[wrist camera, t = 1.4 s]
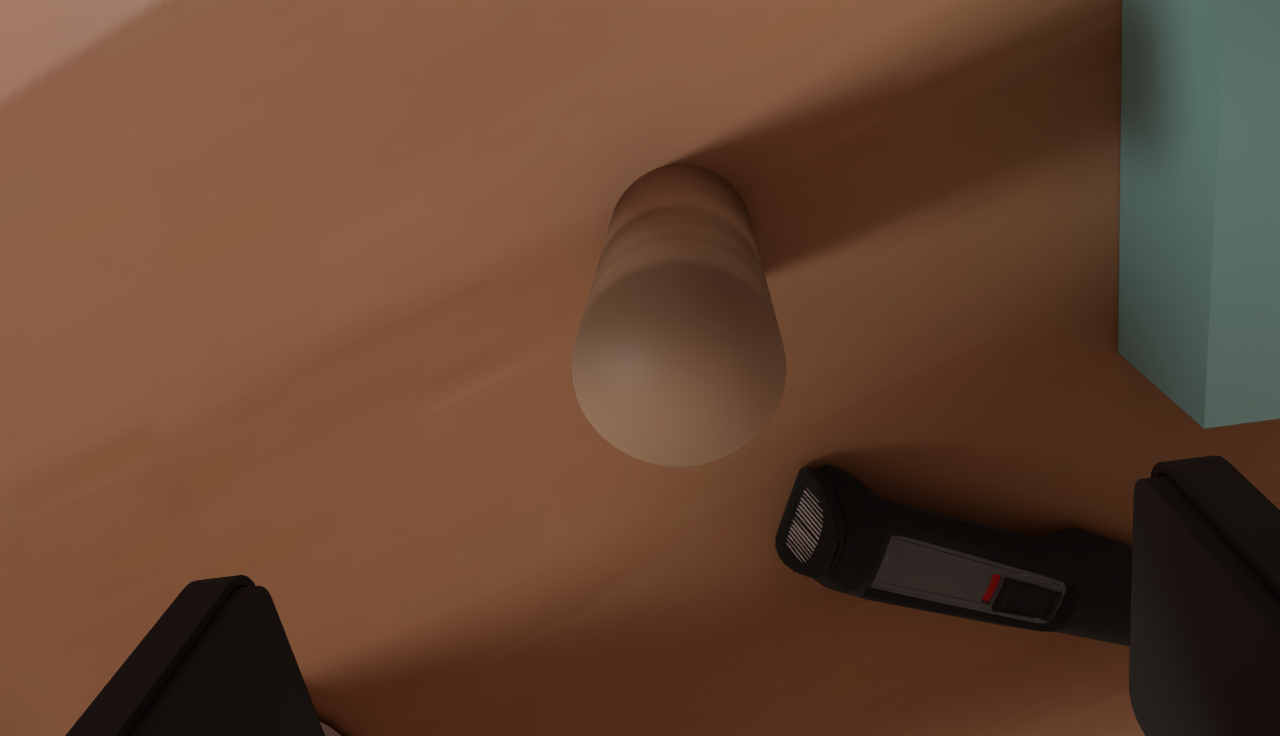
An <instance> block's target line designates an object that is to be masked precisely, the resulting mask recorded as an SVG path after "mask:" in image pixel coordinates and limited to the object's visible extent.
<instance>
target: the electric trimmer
mask: <svg viewBox="0 0 1280 736" xmlns="http://www.w3.org/2000/svg"><path fill="white" fill-rule="evenodd" d="M1132 549H1133V546H1130V545H1127V544H1124V543H1122V542H1119V541H1116V540H1113V539H1110V538H1107V537H1104V536H1101V535H1098V534H1095V533H1092V532H1089V531H1086V530H1083V529H1079V528H1069V529H1066V530H1063V531H1060V532H1056V533H1053V534H1050V535H1046V536H1030V535H1026V534H1022V533H1018V532H1014V531H1010V530H1006V529H1002V528H998V527H994V526H990V525H986V524H982V523H978V522H974V521H970V520H966V519H962V518H958V517H954V516H950V515H945V514H941V513H937V512H933V511H929V510H925V509H921V508H917V507H913V506H909V505H905V504H901V503H897V502H893V501H889V500H885V499H882V498H880V497H878V496H877V495H876V494H875V493H874V492H872V491H871V490H870V489H869V488H868V487H866V486H865V485H864V484H863V483H861V482H860V481H859V480H857V479H856V478H854V477H853V476H851V475H850V474H848V473H847V472H845V471H844V470H841V469H839V468H836V467H834V466H831V465H824V466H822V467H821V468H820V470H819V471H817V470H814V469H809V468H802V469H801V470H800V471H799V474H798V476H797V479H796V481H795V484H794V487H793V490H792V492H791V495H790V498H789V501H788V504H787V506H786V509H785V512H784V515H783V518H782V520H781V523H780V526H779V529H778V532H777V536H776V550H777V553H778V555H779V557H780V558H781V560H782V561H783V563H784V564H785V565H787V566H788V567H789V568H791V569H792V570H793V571H794V572H797V573H799V574H802V575H805V576H808V577H811V578H813V579H814V580H816V581H817V582H819V583H820V584H821V585H823V586H825V587H827V588H830V589H832V590H835V591H838V592H842V593H846V594H850V595H854V596H857V597H861V598H864V599H868V600H872V601H877V602H882V603H888V604H893V605H898V606H904V607H909V608H914V609H919V610H925V611H930V612H935V613H940V614H946V615H951V616H956V617H961V618H967V619H972V620H977V621H983V622H988V623H993V624H998V625H1004V626H1010V627H1016V628H1023V629H1029V630H1036V631H1048V632H1060V633H1065V634H1070V635H1075V636H1080V637H1085V638H1090V639H1095V640H1101V641H1106V642H1111V643H1116V644H1121V645H1126V646H1130V629H1131V589H1132ZM1053 582H1054V583H1053ZM1065 586H1066V587H1065Z"/></svg>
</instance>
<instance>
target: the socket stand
mask: <svg viewBox="0 0 1280 736" xmlns="http://www.w3.org/2000/svg"><path fill="white" fill-rule="evenodd" d="M1118 353H1119V354H1120V355H1121V356H1122V357H1123V358H1124V359H1125V360H1127V361H1128V362H1129V363H1130V364H1131V365H1132V366H1133V367H1135V368H1136V369H1137V370H1138V371H1139V372H1140V373H1141V374H1142V375H1144V376H1145V377H1146V378H1147V379H1148V380H1149V381H1150V382H1152V383H1153V384H1154V385H1155V386H1156V387H1157V388H1158V389H1160V390H1161V391H1162V392H1163V393H1164V394H1165V395H1166V396H1167V397H1169V398H1170V399H1171V400H1172V401H1173V402H1174V403H1175V404H1177V405H1178V406H1179V407H1180V408H1181V409H1182V410H1183V411H1185V412H1186V413H1187V414H1188V415H1189V416H1190V417H1191V418H1192V419H1194V420H1195V421H1196V422H1197V423H1198V424H1199V425H1200V426H1202V427H1203V428H1204V429H1205V428H1213V427H1220V426H1228V425H1235V424H1243V423H1251V422H1258V421H1266V420H1273V419H1280V0H1122V63H1121V148H1120V234H1119V320H1118Z"/></svg>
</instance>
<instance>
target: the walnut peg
mask: <svg viewBox="0 0 1280 736" xmlns="http://www.w3.org/2000/svg"><path fill="white" fill-rule="evenodd" d="M785 376H786V360H785V352H784V347H783V343H782V339H781V335H780V331H779V328H778V324H777V320H776V316H775V312H774V309H773V305H772V301H771V297H770V293H769V290H768V286H767V282H766V278H765V274H764V271H763V267H762V263H761V259H760V255H759V252H758V248H757V244H756V240H755V236H754V233H753V229H752V225H751V221H750V217H749V214H748V211H747V208H746V206H745V204H744V202H743V200H742V198H741V197H740V195H739V194H738V193H737V191H736V190H735V189H734V188H733V187H732V186H731V185H730V184H729V183H728V182H727V181H726V180H724V179H723V178H722V177H720V176H718V175H717V174H715V173H713V172H711V171H709V170H707V169H703V168H700V167H696V166H690V165H672V166H666V167H662V168H658V169H656V170H653V171H651V172H649V173H647V174H645V175H643V176H642V177H640V178H639V179H638V180H636V181H635V182H634V183H633V184H632V185H631V186H630V187H629V188H628V189H627V190H626V191H625V192H624V194H623V195H622V196H621V198H620V200H619V201H618V203H617V205H616V208H615V210H614V213H613V216H612V219H611V223H610V226H609V230H608V233H607V237H606V240H605V243H604V247H603V250H602V254H601V257H600V260H599V264H598V267H597V271H596V274H595V277H594V281H593V284H592V288H591V291H590V294H589V298H588V301H587V305H586V308H585V312H584V315H583V318H582V322H581V325H580V329H579V332H578V335H577V339H576V342H575V346H574V350H573V357H572V378H573V385H574V390H575V393H576V396H577V400H578V402H579V404H580V406H581V409H582V411H583V413H584V414H585V416H586V417H587V419H588V421H589V422H590V424H591V425H592V426H593V427H594V428H595V430H596V431H597V432H598V433H599V434H600V435H601V436H602V437H603V438H604V439H605V440H606V441H608V442H609V443H610V444H612V445H613V446H614V447H616V448H617V449H619V450H620V451H622V452H624V453H626V454H628V455H629V456H632V457H634V458H637V459H639V460H641V461H645V462H649V463H652V464H657V465H663V466H674V467H685V466H696V465H701V464H706V463H710V462H713V461H716V460H719V459H722V458H724V457H726V456H729V455H731V454H733V453H734V452H736V451H738V450H739V449H741V448H743V447H744V446H745V445H747V444H748V443H749V442H750V441H752V440H753V439H754V438H755V437H756V436H757V435H758V434H759V433H760V432H761V431H762V430H763V429H764V427H765V426H766V425H767V423H768V422H769V421H770V419H771V418H772V416H773V414H774V412H775V411H776V409H777V407H778V404H779V402H780V399H781V396H782V393H783V389H784V384H785Z"/></svg>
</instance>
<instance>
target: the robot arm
mask: <svg viewBox="0 0 1280 736" xmlns="http://www.w3.org/2000/svg"><path fill="white" fill-rule="evenodd" d="M1129 692H1130V698H1131V703H1132V707H1133V711H1134V713H1135V716H1136V719H1137V721H1138V723H1139V725H1140V727H1141V729H1142V731H1143V732H1144V734H1145V736H1280V510H1279V509H1278V508H1277V507H1276V506H1274V505H1273V504H1272V503H1271V502H1270V501H1269V500H1268V499H1267V498H1266V497H1265V496H1264V495H1263V494H1262V493H1261V492H1260V491H1259V490H1258V489H1257V488H1255V487H1254V486H1253V485H1252V484H1251V483H1250V482H1249V481H1248V480H1247V479H1246V478H1245V477H1244V476H1243V475H1242V474H1241V473H1240V472H1239V471H1238V470H1236V469H1235V468H1234V467H1233V466H1232V465H1231V464H1230V463H1229V462H1228V461H1227V460H1225V459H1224V458H1222V457H1221V456H1206V457H1198V458H1190V459H1182V460H1174V461H1166V462H1158V463H1157V464H1156V465H1155V466H1154V467H1153V470H1152V472H1151V478H1145V479H1139V480H1138V481H1137V482H1136V485H1135V489H1134V510H1133V549H1132V589H1131V629H1130V669H1129ZM66 736H341V735H340V734H338V733H337V732H336V731H335V730H333V729H332V728H331V727H329V726H327V725H325V724H324V723H322V722H320V721H319V718H318V716H317V713H316V711H315V708H314V705H313V703H312V700H311V698H310V695H309V693H308V690H307V688H306V685H305V682H304V680H303V677H302V675H301V672H300V670H299V667H298V664H297V662H296V659H295V657H294V654H293V652H292V649H291V646H290V644H289V641H288V639H287V636H286V634H285V631H284V628H283V626H282V623H281V621H280V618H279V616H278V613H277V610H276V608H275V605H274V603H273V600H272V598H271V596H270V594H269V592H268V591H267V590H266V589H265V588H264V587H262V586H255V584H254V582H253V581H252V580H251V579H250V578H249V577H247V576H244V575H237V576H229V577H221V578H213V579H204V580H197V581H193V582H191V583H189V584H188V585H187V586H186V587H185V588H184V589H183V590H182V591H181V593H180V594H179V595H178V596H177V598H176V599H175V600H174V601H173V603H172V604H171V605H170V606H169V608H168V609H167V610H166V611H165V613H164V614H163V615H162V616H161V618H160V619H159V620H158V621H157V623H156V624H155V625H154V626H153V628H152V629H151V630H150V631H149V632H148V634H147V635H146V636H145V637H144V639H143V640H142V641H141V642H140V644H139V645H138V646H137V647H136V649H135V650H134V651H133V652H132V654H131V655H130V656H129V657H128V659H127V660H126V661H125V662H124V664H123V665H122V666H121V667H120V668H119V670H118V671H117V672H116V673H115V675H114V676H113V677H112V678H111V680H110V681H109V682H108V683H107V685H106V686H105V687H104V688H103V690H102V691H101V692H100V693H99V695H98V696H97V697H96V698H95V700H94V701H93V702H92V703H91V705H90V706H89V707H88V708H87V709H86V711H85V712H84V713H83V714H82V716H81V717H80V718H79V719H78V721H77V722H76V723H75V724H74V726H73V727H72V728H71V729H70V731H69V732H68V733H67V734H66Z"/></svg>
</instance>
